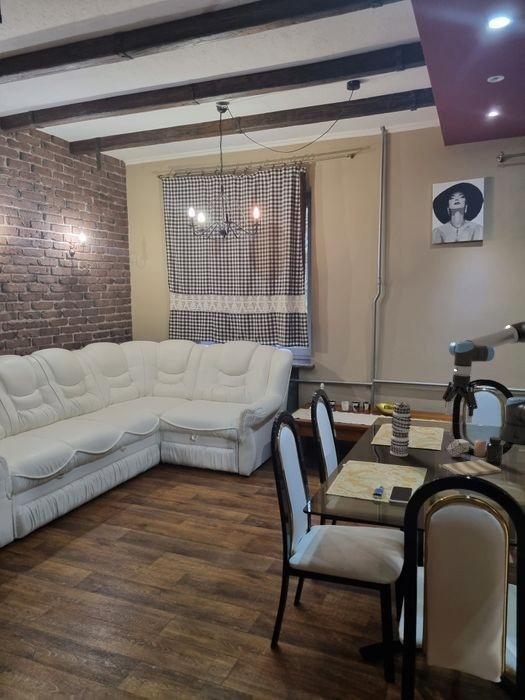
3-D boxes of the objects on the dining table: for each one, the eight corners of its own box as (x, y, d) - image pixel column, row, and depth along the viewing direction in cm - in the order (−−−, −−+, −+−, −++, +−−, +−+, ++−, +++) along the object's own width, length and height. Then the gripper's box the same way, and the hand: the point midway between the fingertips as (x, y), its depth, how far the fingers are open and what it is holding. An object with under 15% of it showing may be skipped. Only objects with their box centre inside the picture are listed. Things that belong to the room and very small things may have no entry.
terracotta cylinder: (479, 452, 242) (480, 439, 241) (487, 456, 237) (488, 442, 236) (471, 453, 240) (472, 440, 239) (479, 457, 236) (480, 443, 235)
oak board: (480, 462, 229) (480, 459, 229) (500, 471, 218) (501, 469, 218) (442, 467, 221) (442, 464, 221) (461, 477, 210) (461, 474, 210)
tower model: (394, 457, 233) (398, 405, 229) (385, 450, 242) (389, 400, 238) (412, 456, 235) (416, 405, 231) (403, 449, 244) (406, 400, 240)
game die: (458, 465, 234) (468, 454, 227) (441, 458, 235) (450, 446, 228) (459, 452, 241) (469, 440, 234) (442, 444, 242) (452, 432, 235)
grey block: (461, 448, 248) (462, 439, 247) (468, 451, 244) (469, 442, 243) (453, 449, 246) (454, 439, 246) (460, 452, 242) (461, 443, 241)
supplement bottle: (500, 462, 230) (502, 437, 228) (502, 467, 224) (504, 441, 222) (484, 460, 232) (486, 435, 231) (485, 464, 226) (488, 439, 224)
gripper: (437, 370, 240) (433, 412, 243) (475, 380, 217) (471, 426, 220) (449, 369, 242) (446, 411, 245) (488, 379, 219) (484, 425, 222)
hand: (457, 418), depth 232 cm, fingers open, 13 cm apart
